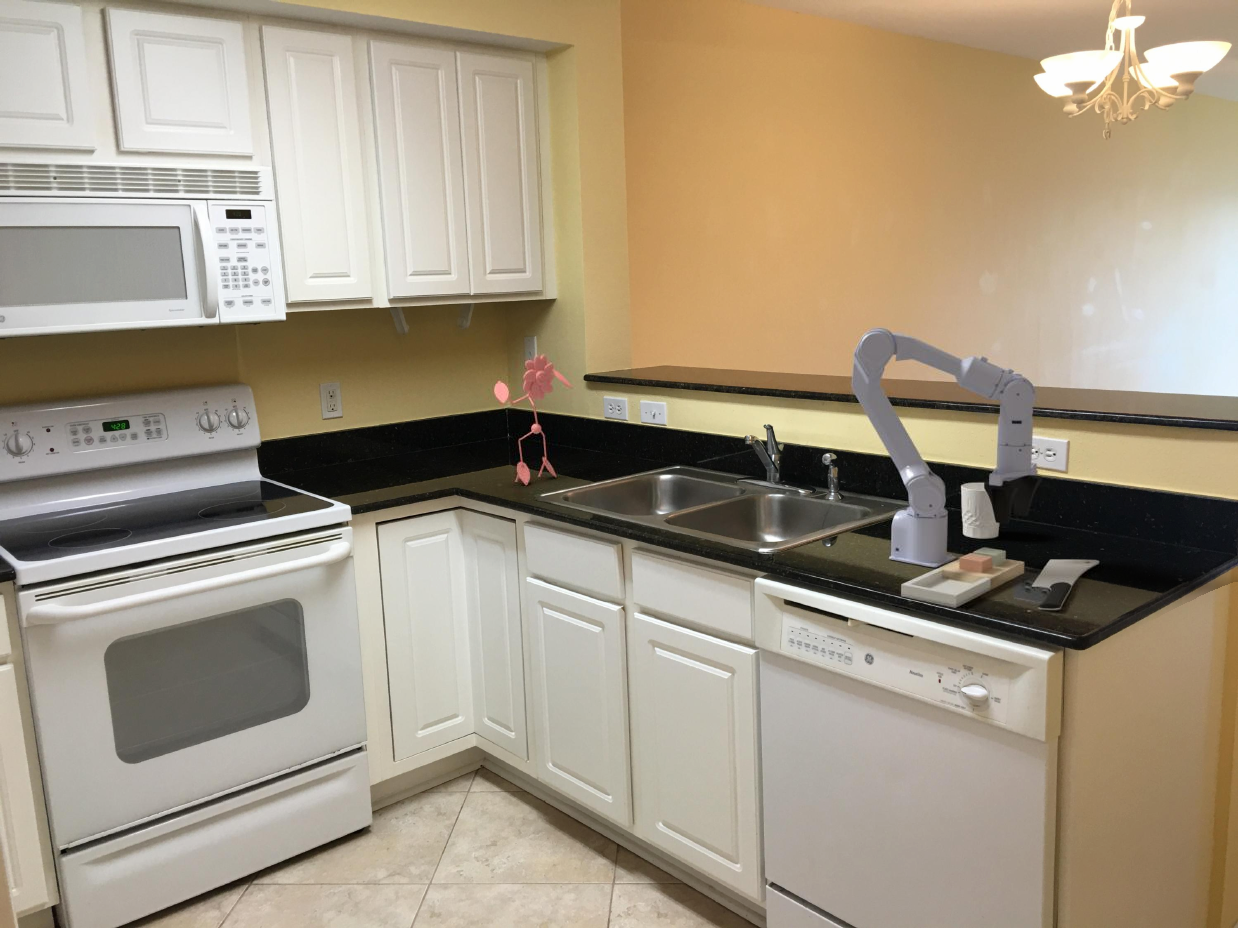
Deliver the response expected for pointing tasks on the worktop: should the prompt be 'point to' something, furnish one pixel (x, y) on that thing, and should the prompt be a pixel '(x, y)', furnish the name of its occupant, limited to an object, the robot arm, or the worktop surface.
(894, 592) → the worktop surface
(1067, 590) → the kitchen cleaver
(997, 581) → the wooden board
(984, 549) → the sage tile
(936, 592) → the grey tray
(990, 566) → the terracotta tile
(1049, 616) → the worktop surface
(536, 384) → the figurine
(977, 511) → the white cup
